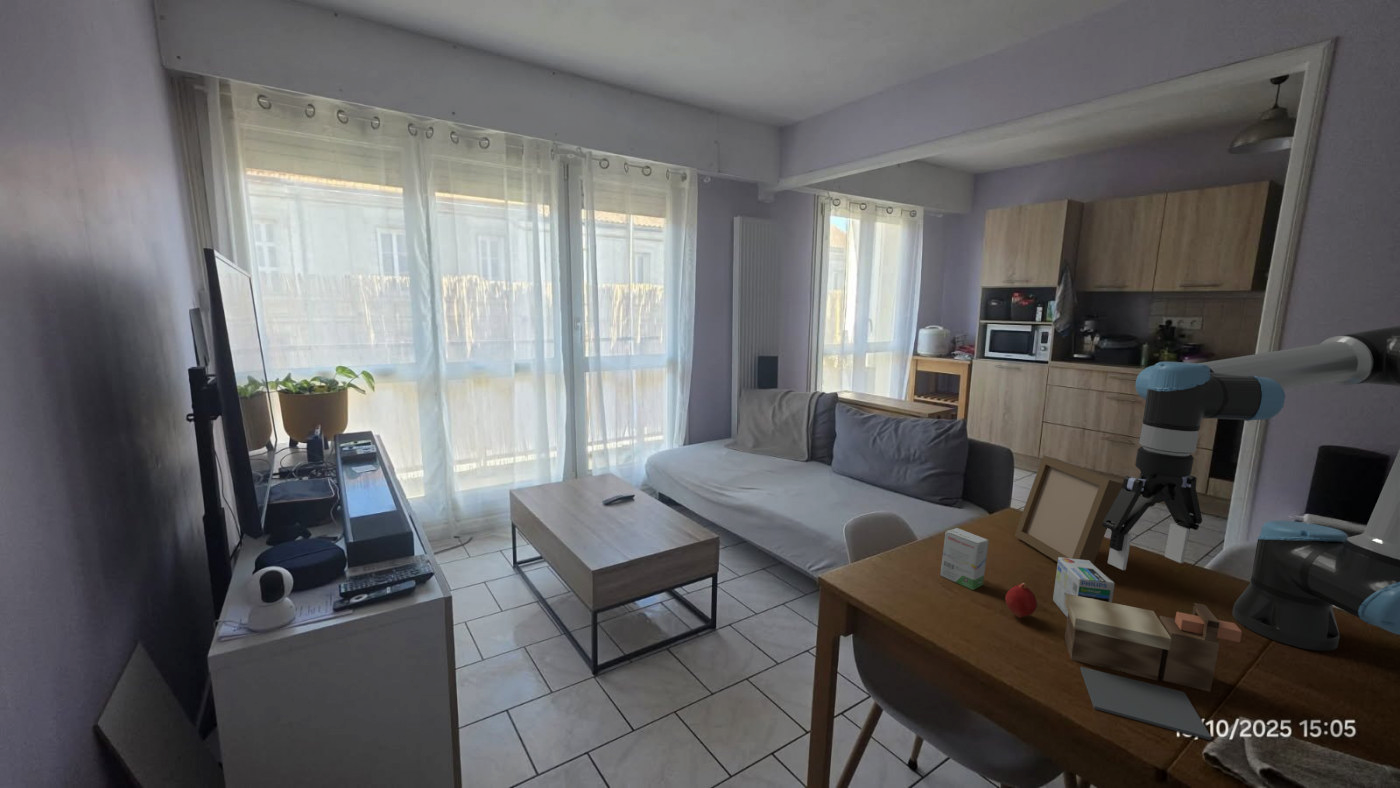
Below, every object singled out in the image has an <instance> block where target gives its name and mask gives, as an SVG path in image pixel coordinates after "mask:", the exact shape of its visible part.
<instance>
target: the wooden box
mask: <svg viewBox="0 0 1400 788" xmlns="http://www.w3.org/2000/svg"><path fill="white" fill-rule="evenodd" d="M1193 603H1194V604H1193V607H1192V608H1193V609H1192V614H1191V615H1196V616H1199V617H1200V618H1201V619H1202V620H1203V622H1204V628H1203V634H1198V633H1193V632H1188V631H1183V630H1180V628H1179V627H1178V626H1177V624H1176V623H1175V618H1172V617H1168V616H1165V615H1164V616H1163V615H1159V618H1158V619H1159V620H1160V622H1161V624H1162V625H1163V627H1164V628H1165V630H1166V631H1167V633H1168V634H1169V636H1170V637H1171V645H1170V650H1166V649H1162V648H1157V647H1153V646H1148V645H1144V644H1139V643H1135V642H1130V641H1126V640H1121V639H1117V638H1112V637H1108V636H1103V635H1099V634H1095V633H1090V632H1086V631H1081V630H1077V629H1074V627H1073V624H1072V622H1071V619H1070V616H1069V614H1068V617H1066V618H1067V619H1066V626H1065V633H1064V642H1065V645H1066V649H1067V651H1068V654H1069V657H1070V660H1071V661H1075V662H1080V663H1084V664H1088V665H1091V666H1096V667H1100V668H1103V669H1108V668H1109V669H1108V670H1113V671H1116V670H1117V672H1120V671H1121V673H1124V672H1125V674H1129V675H1134V676H1138V677H1142V678H1146V679H1150V680H1153V681H1158V678H1159V676H1160V677H1161V679H1162V681H1164V682H1168V683H1173V684H1176V685H1181V686H1185V687H1188V688H1193V689H1197V690H1202V691H1206V692H1211V691H1212V690H1211V689H1212V686H1213V685H1212V684H1213V679H1214V674H1215V669H1216V664H1217V660H1218V653H1219V650H1220V649H1219V648H1220V644H1221V643H1220V641H1219V640H1218V638H1217V634H1218V628H1219V623H1220V622H1219V621H1218V620H1219V619H1218V618H1217V617H1216V616H1215V615H1214V614H1213V613H1212V611H1211V610H1210V609H1209V608H1208V606H1206V605H1205V604H1204V603H1196V602H1193Z"/></svg>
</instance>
